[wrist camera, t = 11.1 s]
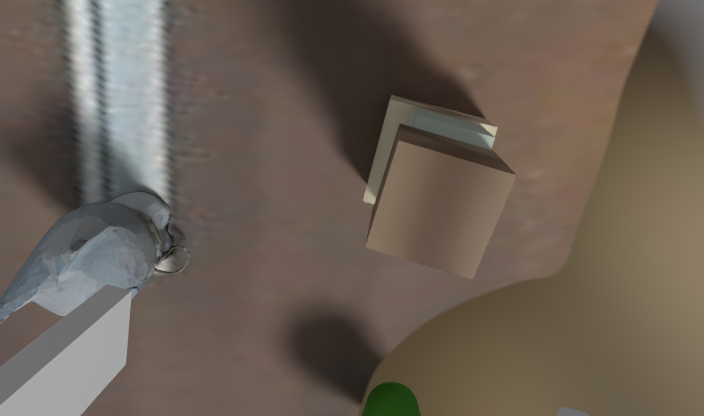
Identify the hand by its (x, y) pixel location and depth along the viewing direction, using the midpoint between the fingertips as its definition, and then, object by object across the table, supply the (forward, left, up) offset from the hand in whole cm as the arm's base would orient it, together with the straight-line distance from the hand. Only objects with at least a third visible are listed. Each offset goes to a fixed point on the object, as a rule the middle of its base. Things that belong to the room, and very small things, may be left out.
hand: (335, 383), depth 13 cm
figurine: (-20, -12, -27) cm, 35 cm away
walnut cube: (+3, +3, -17) cm, 17 cm away
